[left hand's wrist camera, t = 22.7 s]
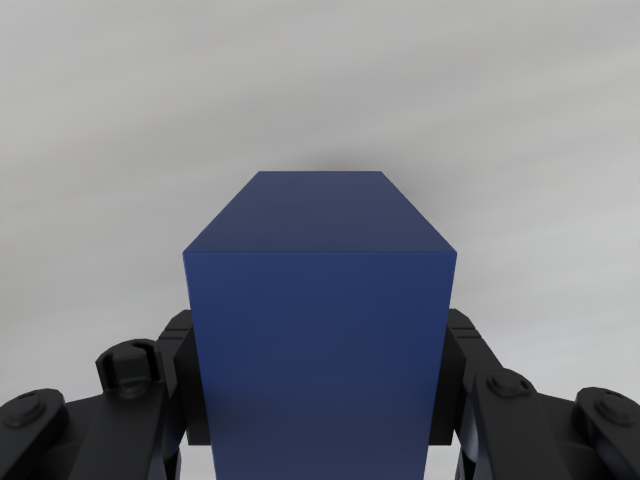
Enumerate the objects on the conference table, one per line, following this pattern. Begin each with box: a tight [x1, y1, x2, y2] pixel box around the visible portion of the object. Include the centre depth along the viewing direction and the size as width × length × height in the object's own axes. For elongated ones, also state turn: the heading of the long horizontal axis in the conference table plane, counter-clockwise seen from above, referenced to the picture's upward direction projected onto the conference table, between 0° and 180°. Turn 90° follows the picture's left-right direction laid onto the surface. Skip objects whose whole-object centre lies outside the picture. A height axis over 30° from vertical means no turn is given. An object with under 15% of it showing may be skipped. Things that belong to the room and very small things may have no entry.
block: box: [183, 171, 457, 480], centre depth 12 cm, size 8×5×9 cm, turn 0°
